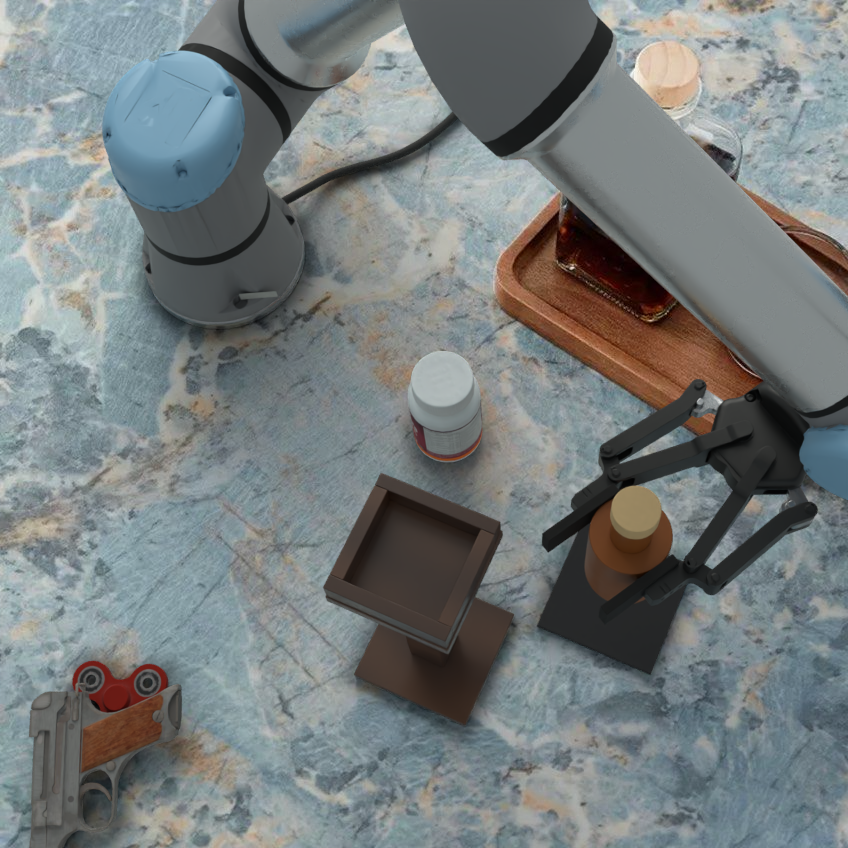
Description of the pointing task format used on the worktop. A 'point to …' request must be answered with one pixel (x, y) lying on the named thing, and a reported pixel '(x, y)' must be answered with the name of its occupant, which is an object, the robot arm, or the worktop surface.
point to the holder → (422, 596)
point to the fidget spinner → (119, 685)
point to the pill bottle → (445, 407)
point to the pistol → (87, 754)
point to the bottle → (626, 541)
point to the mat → (578, 619)
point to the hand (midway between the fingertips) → (574, 578)
